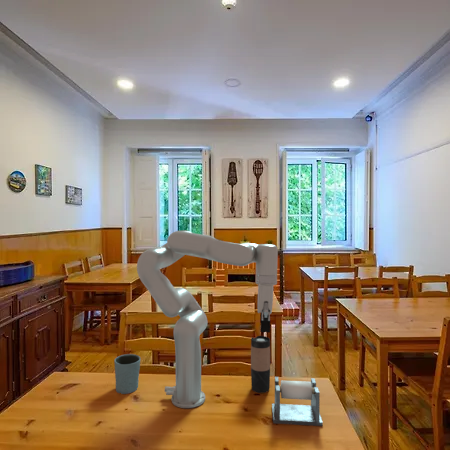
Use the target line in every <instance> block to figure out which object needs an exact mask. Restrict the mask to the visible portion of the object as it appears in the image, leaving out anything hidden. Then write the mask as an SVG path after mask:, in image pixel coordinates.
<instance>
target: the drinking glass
mask: <svg viewBox="0 0 450 450" xmlns="http://www.w3.org/2000/svg"><path fill="white" fill-rule="evenodd" d="M113 360H114V374H115V376H114V378H115V391H116V393H117V394H120V393H121V394H120V395H128V394H131V393H134V392H136V391H137V390H138V389H139V383H140V382H139V376H140V368H141V356H139V355H137V354H134V353H127V354H121V355H119V356H116V358H114V359H113ZM137 388H138V389H137Z"/></svg>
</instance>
